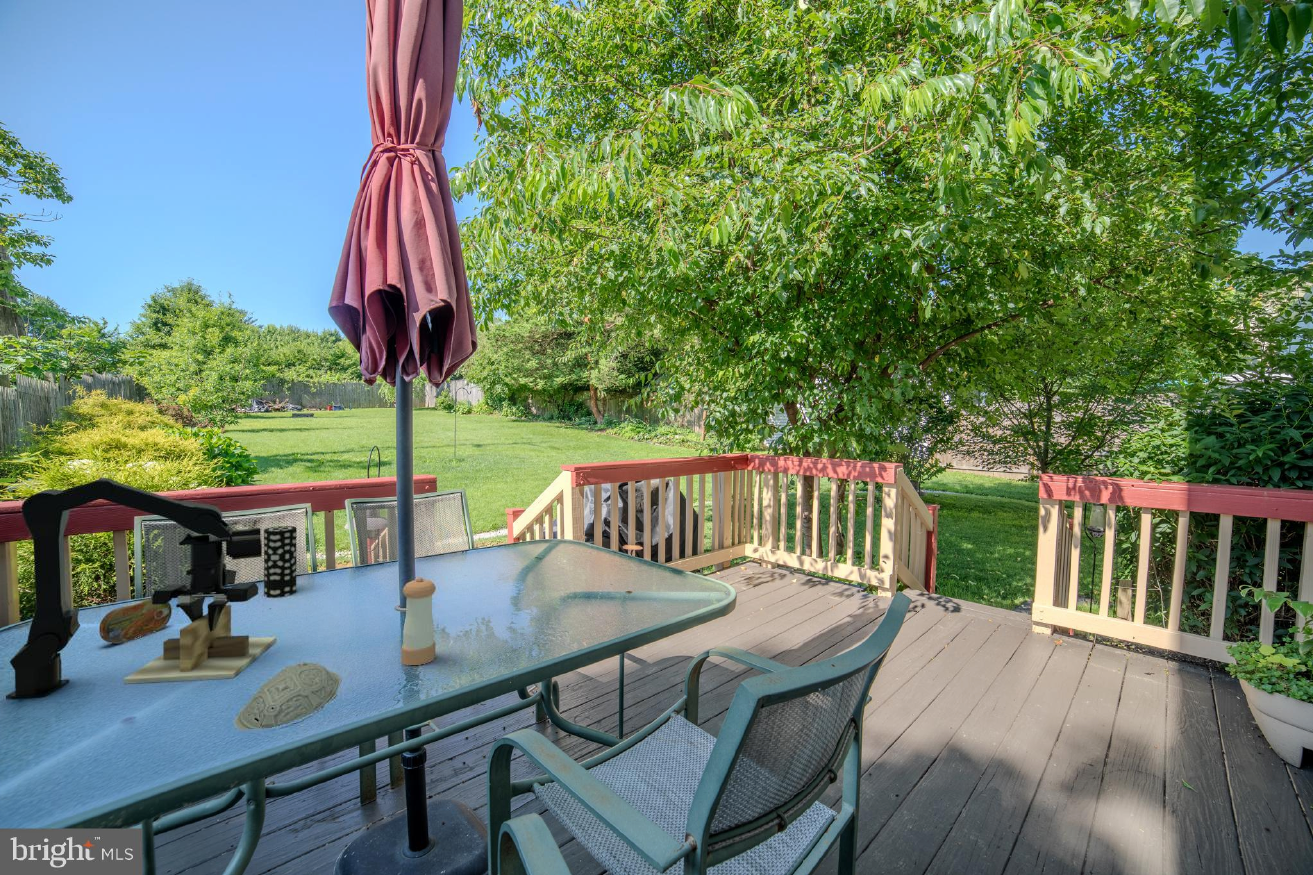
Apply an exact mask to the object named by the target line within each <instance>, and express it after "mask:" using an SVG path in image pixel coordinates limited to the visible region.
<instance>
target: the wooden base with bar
mask: <svg viewBox="0 0 1313 875" xmlns="http://www.w3.org/2000/svg"><path fill="white" fill-rule="evenodd" d="M276 642H277V636H269V637H265V636H264V637H250V635H231V636H222V637H217V638H215V639H214V640H213V646H210V647H208V659H207V660H205V661H204V662H203V663H201V664H200V665H199V666H197V667H196V668H195V669H193V670H192V671H189V672H180V637H175V638H174V637H173V638H168V639H166V640H165V641H163V642H162V644H163V647H162V648H163V652H162V653H163V654H160V656H158V657H156V658H155V659H153V660H152V661H150V662H148V663H147V664H146V665H143V666H142V667H141V668H139V669H137V670H136V671H135V672H133V673H131V674H130V675H128V676H126V677H125V678H123V684H124V685H125V684H126V685H127V684H128V685H129V684H147V683H148V684H149V683H166V682H168V683H169V682H186V681H202V680H203V681H206V680H223V679H227V680H228V679H234V678H235V677H236V676H238V675H239V674H240V673H241V672H243V670H245V669H246V668H247V667H248V666H249V665H250V664H251V663H253V662H254V661H255V660H257V658H259V657H260V656H261V655H262V654H263V653H265V652H266V651H267V650H268V649H269V648H270V647H271V646H272V645H273V644H275V643H276Z"/></svg>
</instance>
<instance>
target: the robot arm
mask: <svg viewBox="0 0 1313 875" xmlns="http://www.w3.org/2000/svg"><path fill="white" fill-rule="evenodd" d="M100 500H103V501H107V502H110V503H114V504H117V505H120V506H125V507H127V508H131V509H134V510H138V511H141V512H145V513H148V514H152V515H155V516H158V517H162V518H165V519H168V520H170V521H172V522H174V523H175V524H178V525H179V526H181V527H182V528H185V529H187V530H189V531H188V532H186V535H185V536H184V537H182V538H181V539H180V540H179V542H178V546H189V569H187V570H186V576H189V587H188V586H187V585H186V584H183V583H182V584H166V585H164V586H163V587H160V588H158V589H156V590H154V591H153V592H152V594H151V596H150V599H151V604H152V605H153V604H167V603H168V602H169V603H170V602H171V601H172V599H178V600H177V601H178V602H177V604H175V607H176V608H179V609H181V610H182V611H183V613H185V615H186V616H187V617H188V619H189V620H190V622H191V623H192V622H194V621H196V620H197V619H199V618H201V617H202V616H204V604H205V603H204V602H205V599H206V598H213V599H212V600H213V601H211V602H210V603H207V613H208V620H209V628H210V631H214V630H215V628H216V625H217V623H218V620H219V618H220V615H221V613H222V611H223V609H224V607H225V605H228V603H243V602H248V601H250V600H251V599H252V598H254V597H256V596H258V595H259V585H257V584H256V582H238V583H236V578H237V573H238V572H237V570H234V569H227V565H226V562H223V543H225V556H226V557H229V558H231V560H233V561H234V560H243V559H253V558H261V557H263V556H262V552H263V548H262V547H263V546H262V545H263V543H262V537H261V528H260V527H252V528H248V529H247V528H246V529H235V530H233V528H232V527H231V525H229V524H228V523H227V522H226V521H225V520H224V519H223V513H222V510H221V509H220V508H219V507H217V506H215V505H212V504H208V503H201V502H194V501H193V502H192V501H184V500H183V501H182V500H176V499H173V498H169V497H166V496H163V495H159V494H157V493H154V492H151V491H148V490H144V489H140V488H137V487H133V486H130V485H127V484H125V483H121V482H117V481H115V480H114V479H112V478H109V477H107V478H106V477H101V478H98V479H95V480H94V481H91V482H87V483H83V484H80V485H76V486H73V487H70V488H66V489H62V490H59V489H55V488H54V489H53V488H52V489H51V488H50V489H45V490H41V491H40V492H36V493H34V494H32V495H30V496H29V497H27V498H26V499H25V500H24V501H23V502H22V504H21V514H22V516H23V520H24V523H25V527H26V528H27V530H28V532H29V534H30V536H31V537H32V540H33V541H32V542H33V564H34V565H33V566H34V567H33V569H34V571H33V572H34V592H35V612H34V614H33V618H32V620H31V623H30V627H29V631H28V636H27V640H26V643H25V644H24V645H22V647H20V649H19V650H18V651H17V653H16V654H14V656H13V657H12V658H11V659H10V661H9V663H10V665H11V667H12V668H13V670H14V691H12V692H10V693H8V694H6V695H5V699H22V698H23V699H24V698H42V697H46V696H47V695H49V694H51V693H53V692H54V691H57V690H58V689H60V688H62V687H64V686H65V685H67V684H68V683H70V681H71V680H70V679H69V678H68V679H62V677H63V674H62V659H61V651H63V649H65V647H67V645H68V644H69V643H70V641H71V640H72V638H73V637H74V636H75V634H76V632H77V631H78V630H79V629H80V627H81V624H80V623H79V619H78V618H79V613H80V608H79V607H76V608H73V609H71V608H70V607H69V605H68V603H67V598H66V574H65V573H66V572H65V545H64V542H65V541H64V534H65V531H66V527H67V524H68V521H69V518H70V513H71V510H72V509H76V508H79V507H80V506H84V505H87V504H90V503H92V502H96V501H100ZM190 531H191V532H190ZM192 532H194V533H196V534H192ZM211 535H212V536H214V537H211ZM235 583H236V584H235ZM231 585H233V586H231ZM227 586H231V587H227Z"/></svg>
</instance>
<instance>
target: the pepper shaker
mask: <svg viewBox="0 0 1313 875" xmlns="http://www.w3.org/2000/svg"><path fill="white" fill-rule="evenodd" d="M436 589H437V587H436V585H435V583H434V582H433V581H432V580H429V579H424V578H423V577H419V576H418V577H417V578H416V579H414V580H411V581H409V582H407V583H406V584H405V585H404V586H403V589H402V593H403V595H404V597H406V601H405V602H406V604H405V605H406V606H405V608H406V609H405V611H406V614H405V620H404V626H403V630H402V634H403V635H402V638H403V643H402V646H401V660H400V661H401V663H402V664H403V665H404V666H408V665H419V666H422V665H421V664H424V663H427V664H429V663H428V662H429V661H432V660H433V661H435V659H436V645H437V644H436V642H435V624H434V618H433V595H434V593H435V592H436ZM434 658H435V659H434ZM433 661H432V662H433ZM424 665H425V664H424Z"/></svg>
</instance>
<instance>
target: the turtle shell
mask: <svg viewBox="0 0 1313 875" xmlns="http://www.w3.org/2000/svg"><path fill="white" fill-rule="evenodd" d="M342 681H343V680H342V677H341V675H339V674H338V673H336V672H334V671H333V672H332V671H330V670H329V669H327V668H326V667H325V666H324V665H321V664H320V663H318V662H311V661H310V662H307V661H301V662H299V663H297V664H294V665H290V666H287V667H285V668H283V669H281V670H280V671H278V673H277V674H275V675H274V676H272V677H270V679H267V680H266V681H265V682H264V684H262V685H261V686H260V687H259V688H258V690H257V691H255V693H254V694H253V696H251V699H250V700H249V701H248V702H246V704H245V706H244V707H242V708H241V710H240V711H238V715H237V716H236V718H235V719H234V722H233V723H234V726H235V728H236V729H237V730H239V731H242V730H244V731H242V732H245V730H246V731H248V730H249V729H264V728H266V729H267V728H272V727H274V726H275V727H276V726H280V725H283V724H288V723H290V722H293V721H294V720H298V719H302V718H303V717H306V716H307V715H310V714H311V713H314V712H315V711H318V710H319V709H320V708H322V707H323V706H324V705H325V704H326V703H328V704H330V703H329V701H331V702H332V700H331V699H335V698H336V697H337V695H338V694H337V691H338V690H339V688H340V684H341V683H342ZM334 697H335V698H334ZM324 707H325V706H324ZM324 707H323V708H324ZM323 708H322V709H323ZM318 712H319V711H318ZM256 719H257V720H258V721H257V720H256Z"/></svg>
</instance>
